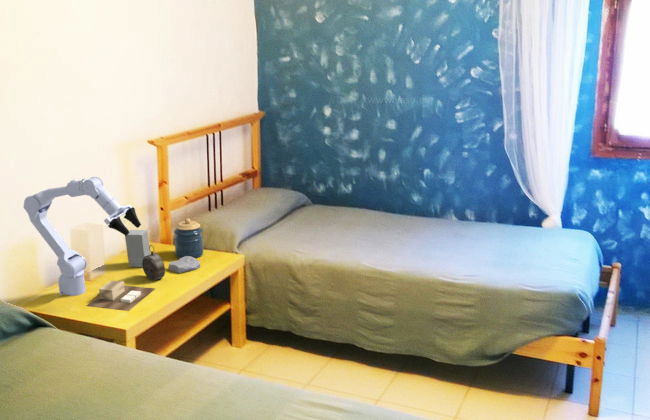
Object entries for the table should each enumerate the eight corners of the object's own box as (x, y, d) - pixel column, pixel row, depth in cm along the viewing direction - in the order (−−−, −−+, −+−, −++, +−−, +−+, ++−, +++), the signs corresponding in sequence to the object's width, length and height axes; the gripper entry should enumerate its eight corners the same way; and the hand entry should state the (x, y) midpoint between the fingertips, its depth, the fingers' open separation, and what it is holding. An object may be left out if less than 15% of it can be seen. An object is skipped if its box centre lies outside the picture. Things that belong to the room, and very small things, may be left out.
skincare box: (151, 263, 312) (149, 229, 307) (144, 268, 305) (142, 234, 300) (134, 261, 313) (131, 228, 309) (126, 267, 306) (124, 233, 302)
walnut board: (85, 309, 263) (85, 305, 263) (115, 287, 284) (115, 284, 284) (129, 314, 260) (128, 310, 259) (155, 292, 280) (155, 288, 280)
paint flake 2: (126, 297, 271) (126, 294, 271) (131, 293, 275) (131, 290, 275) (136, 298, 270) (135, 295, 270) (141, 294, 274) (140, 291, 274)
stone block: (202, 271, 308) (188, 262, 313) (203, 262, 306) (188, 252, 311) (181, 279, 299) (166, 270, 304) (182, 270, 297) (167, 260, 302)
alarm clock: (166, 283, 289) (164, 246, 284) (155, 286, 285) (153, 249, 281) (151, 276, 296) (149, 240, 292) (140, 279, 292) (138, 243, 288)
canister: (193, 248, 331) (192, 212, 326) (209, 255, 322) (207, 218, 317) (169, 254, 323) (167, 218, 318) (184, 261, 313) (182, 224, 308)
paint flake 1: (120, 301, 267) (120, 299, 267) (125, 297, 271) (125, 294, 270) (130, 302, 266) (130, 300, 266) (135, 298, 270) (135, 296, 269)
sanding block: (99, 299, 269) (99, 289, 267) (111, 290, 277) (111, 280, 276) (113, 301, 267) (112, 290, 266) (124, 292, 276) (123, 281, 275)
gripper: (102, 204, 253) (127, 231, 254) (125, 190, 265) (149, 217, 266) (92, 215, 256) (118, 242, 257) (116, 201, 269) (140, 227, 270)
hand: (133, 230), depth 262 cm, fingers open, 7 cm apart
